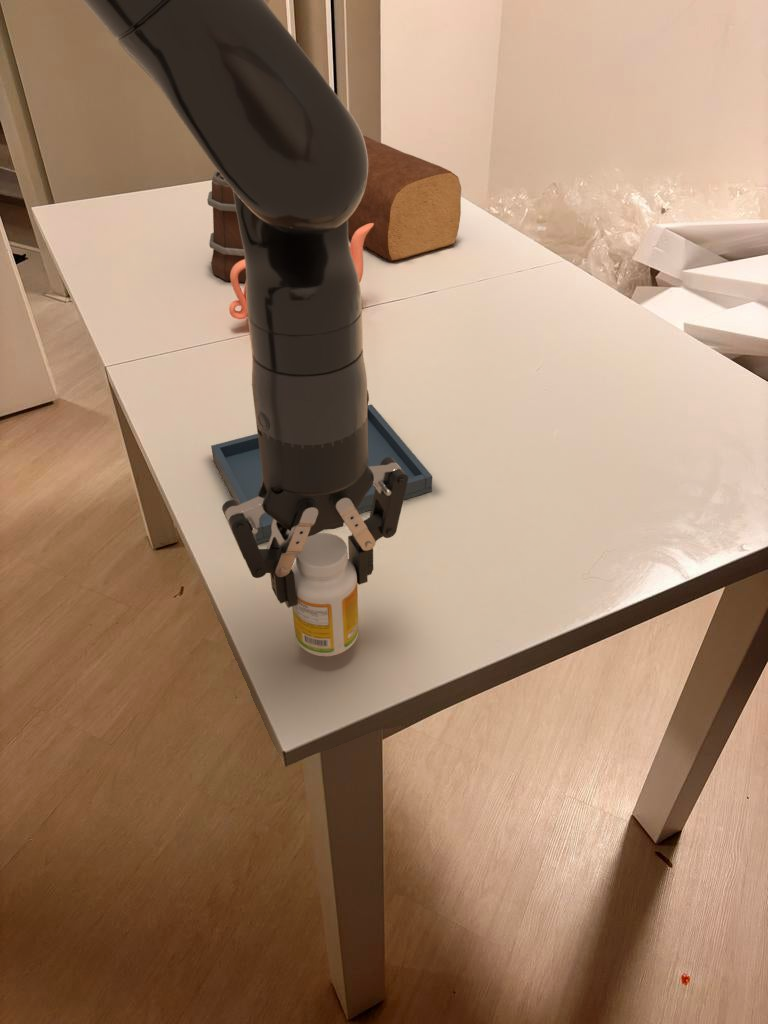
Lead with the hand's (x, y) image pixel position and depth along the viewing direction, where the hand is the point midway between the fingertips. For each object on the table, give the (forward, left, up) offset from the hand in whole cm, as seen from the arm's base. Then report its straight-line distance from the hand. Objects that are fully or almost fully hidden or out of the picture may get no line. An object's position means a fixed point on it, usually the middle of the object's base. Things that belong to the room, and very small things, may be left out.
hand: (323, 587), depth 65 cm
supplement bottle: (0, 0, -6) cm, 6 cm away
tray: (+8, +23, -7) cm, 26 cm away
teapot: (+20, +59, -8) cm, 63 cm away
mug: (+18, +82, -8) cm, 85 cm away
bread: (+43, +91, -8) cm, 101 cm away
